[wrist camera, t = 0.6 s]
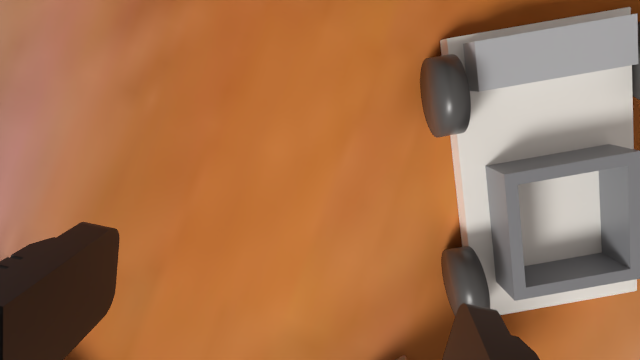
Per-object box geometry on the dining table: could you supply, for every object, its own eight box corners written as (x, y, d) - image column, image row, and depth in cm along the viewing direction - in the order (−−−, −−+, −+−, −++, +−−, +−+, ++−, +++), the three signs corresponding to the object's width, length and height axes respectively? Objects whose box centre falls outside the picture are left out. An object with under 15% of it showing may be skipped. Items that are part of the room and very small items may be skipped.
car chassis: (414, 44, 32) (436, 38, 27) (640, 5, 32) (702, -7, 27) (447, 313, 36) (470, 350, 31) (644, 278, 36) (699, 309, 31)
